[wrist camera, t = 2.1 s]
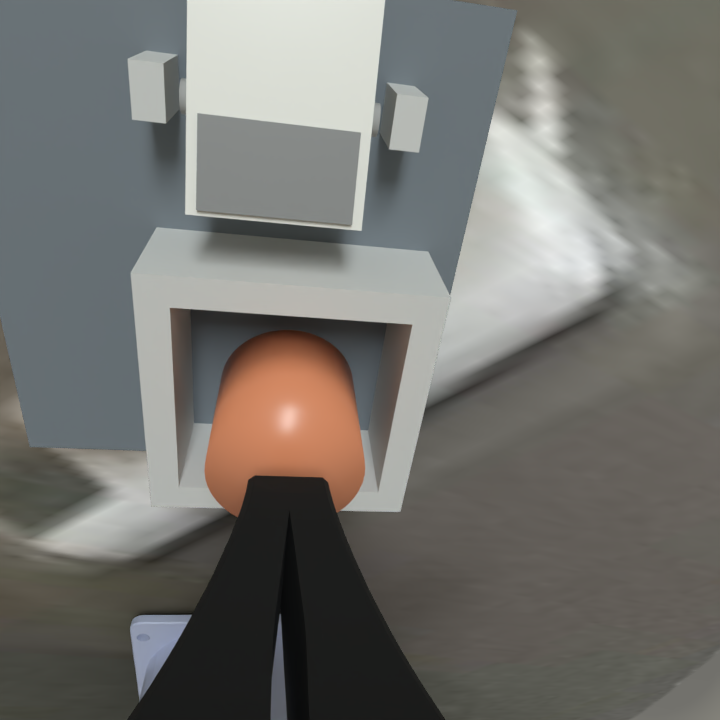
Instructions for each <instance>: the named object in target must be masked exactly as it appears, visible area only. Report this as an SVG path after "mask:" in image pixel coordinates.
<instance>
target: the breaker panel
mask: <svg viewBox="0 0 720 720" xmlns="http://www.w3.org/2000/svg"><path fill="white" fill-rule="evenodd" d="M516 13H517V10H511V9H505V8H498V7H492V6H486V5H479V4H473V3H466V2H460V1H454V0H385V7H384V17H383V27H382V36H381V46H380V56H379V66H378V75H377V85H376V95H375V103H380V105H381V114H380V124H379V130H378V134H377V136H376V137H371V143H370V153H369V163H368V173H367V182H366V192H365V202H364V212H363V221H362V231H357V230H346V229H336V228H325V227H314V226H303V225H293V224H282V223H271V222H261V221H250V220H239V219H228V218H218V217H207V216H196V215H186V214H185V180H186V115H184V114H181V111H180V105H179V86H180V80H181V78H185V79H186V65H187V0H0V318H1V322H2V327H3V331H4V335H5V340H6V344H7V349H8V353H9V357H10V362H11V366H12V371H13V375H14V379H15V384H16V388H17V392H18V397H19V401H20V406H21V410H22V414H23V419H24V423H25V428H26V432H27V436H28V441H29V445H30V447H49V448H78V449H108V450H137V451H146V454H147V466H148V477H149V489H150V500H151V507H185V508H223V507H222V506H221V505H220V504H219V503H218V502H217V501H216V500H215V498H214V497H213V495H212V494H211V492H210V490H209V488H208V486H207V483H206V480H205V472H204V469H205V460H206V455H207V450H208V444H209V439H210V434H211V428H212V423H213V418H214V413H215V407H216V402H217V397H218V392H219V386H220V381H221V376H222V372H223V368H224V366H225V364H226V362H227V360H228V358H229V357H230V355H231V354H232V353H233V352H234V351H235V350H236V349H237V348H238V347H239V346H240V345H241V344H243V343H244V342H246V341H247V340H249V339H251V338H253V337H255V336H257V335H260V334H263V333H266V332H271V331H277V330H297V331H303V332H307V333H311V334H314V335H316V336H319V337H321V338H323V339H325V340H326V341H328V342H329V343H331V344H332V345H334V346H335V347H336V348H337V349H338V350H339V351H340V352H341V353H342V355H343V356H344V357H345V359H346V360H347V362H348V364H349V366H350V369H351V372H352V377H353V383H354V390H355V397H356V404H357V411H358V418H359V425H360V432H361V439H362V446H363V452H364V459H365V476H364V480H363V483H362V485H361V487H360V490H359V491H358V493H357V494H356V496H355V497H354V498H353V500H352V501H351V502H350V503H349V504H348V505H347V506H346V507H344V508H343V509H342V510H340V511H380V512H400V510H401V506H402V502H403V498H404V493H405V489H406V485H407V481H408V477H409V472H410V468H411V464H412V460H413V456H414V451H415V447H416V443H417V439H418V435H419V430H420V426H421V422H422V418H423V414H424V409H425V405H426V401H427V397H428V393H429V388H430V384H431V380H432V376H433V372H434V367H435V363H436V359H437V355H438V351H439V346H440V342H441V338H442V334H443V330H444V325H445V321H446V317H447V313H448V309H449V304H450V300H451V297H450V293H451V289H452V284H453V280H454V276H455V272H456V267H457V263H458V259H459V255H460V251H461V246H462V242H463V238H464V234H465V229H466V225H467V221H468V217H469V212H470V208H471V204H472V200H473V196H474V191H475V187H476V183H477V179H478V174H479V170H480V166H481V162H482V157H483V153H484V149H485V145H486V140H487V136H488V132H489V128H490V124H491V119H492V115H493V111H494V107H495V102H496V98H497V94H498V90H499V85H500V81H501V77H502V73H503V68H504V64H505V60H506V56H507V52H508V47H509V43H510V39H511V35H512V30H513V26H514V22H515V18H516Z"/></svg>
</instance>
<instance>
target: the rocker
mask: <svg viewBox="0 0 720 720" xmlns="http://www.w3.org/2000/svg"><path fill="white" fill-rule="evenodd" d="M384 7H385V0H187V65H186V79H185V78H181V80H180V86H179V105H180V111H181V114H184V115H186V180H185V214H186V215H196V216H207V217H218V218H228V219H239V220H250V221H261V222H271V223H282V224H293V225H303V226H314V227H325V228H336V229H346V230H357V231H362V221H363V212H364V202H365V192H366V182H367V173H368V163H369V153H370V143H371V137H376V136H377V134H378V130H379V124H380V114H381V105H380V103H375V95H376V85H377V75H378V66H379V56H380V46H381V36H382V27H383V17H384Z"/></svg>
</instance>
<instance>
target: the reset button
mask: <svg viewBox="0 0 720 720" xmlns="http://www.w3.org/2000/svg"><path fill="white" fill-rule="evenodd" d="M204 472H205V480H206V483H207V486H208V488H209V490H210V492H211V494H212V495H213V497H214V498H215V500H216V501H217V502H218V503H219V504H220V505H221V506H222V507H223V508H225V509H226V510H227V511H228V512H230V513H231V514H233V515H235V516H236V517H238V515H239V513H240V510H241V507H242V504H243V500H244V497H245V493H246V489H247V484H248V480H249V479H250V478H252V477H253V476H255V475H258V476H292V477H323V478H324V479H325V480H326V481H327V482H328V484H329V488H330V492H331V496H332V499H333V503H334V506H335V509H336V512H337V513H338V512H339V511H340V510H342V509H343V508H344V507H346V506H347V505H348V504H349V503H350V502H351V501H352V500H353V498H354V497H355V496H356V494H357V493H358V491H359V490H360V487H361V485H362V483H363V480H364V476H365V459H364V452H363V446H362V439H361V432H360V425H359V418H358V411H357V404H356V397H355V390H354V383H353V377H352V372H351V369H350V366H349V364H348V362H347V360H346V359H345V357H344V356H343V355H342V353H341V352H340V351H339V350H338V349H337V348H336V347H335V346H334V345H332V344H331V343H329V342H328V341H326V340H325V339H323V338H321V337H319V336H316V335H314V334H311V333H307V332H303V331H297V330H277V331H271V332H266V333H263V334H260V335H257V336H255V337H253V338H251V339H249V340H247V341H246V342H244V343H243V344H241V345H240V346H239V347H238V348H237V349H236V350H235V351H234V352H233V353H232V354H231V355H230V357H229V358H228V360H227V362H226V364H225V366H224V368H223V372H222V376H221V381H220V386H219V392H218V397H217V402H216V407H215V413H214V418H213V423H212V428H211V434H210V439H209V444H208V450H207V455H206V460H205V469H204Z"/></svg>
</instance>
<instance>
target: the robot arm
mask: <svg viewBox="0 0 720 720" xmlns="http://www.w3.org/2000/svg"><path fill="white" fill-rule="evenodd" d="M280 609H281V614H280ZM130 634H131V641H132V648H133V656H134V663H135V670H136V678H137V685H138V692H139V699H140V700H139V703H138V705H137V706H136V708H135V709H134V710H133V712H132V713H131V715H130V716H129V718H128V719H127V720H445V718H444V717H443V715H442V714H441V712H440V711H439V709H438V708H437V706H436V705H435V703H434V702H433V700H432V699H431V697H430V696H429V694H428V693H427V691H426V690H425V688H424V687H423V685H422V683H421V682H420V680H419V679H418V677H417V675H416V674H415V672H414V670H413V669H412V667H411V666H410V664H409V662H408V661H407V659H406V657H405V656H404V654H403V652H402V650H401V649H400V647H399V645H398V644H397V642H396V640H395V638H394V636H393V635H392V633H391V631H390V629H389V627H388V625H387V624H386V622H385V620H384V618H383V616H382V614H381V612H380V610H379V608H378V607H377V605H376V603H375V601H374V599H373V597H372V595H371V593H370V591H369V589H368V587H367V584H366V582H365V580H364V578H363V576H362V573H361V571H360V569H359V567H358V565H357V562H356V560H355V558H354V556H353V554H352V551H351V549H350V546H349V544H348V542H347V539H346V537H345V534H344V531H343V529H342V526H341V523H340V521H339V518H338V515H337V512H336V509H335V506H334V503H333V499H332V496H331V492H330V488H329V484H328V482H327V481H326V480H325V479H324V478H323V477H292V476H258V475H255V476H253V477H252V478H250V479H249V480H248V484H247V489H246V493H245V497H244V500H243V504H242V507H241V510H240V513H239V515H238V518H237V521H236V523H235V526H234V528H233V531H232V534H231V536H230V539H229V541H228V543H227V545H226V547H225V550H224V552H223V554H222V556H221V558H220V561H219V563H218V565H217V567H216V569H215V572H214V574H213V576H212V578H211V580H210V582H209V584H208V586H207V588H206V590H205V591H204V593H203V595H202V597H201V599H200V601H199V603H198V605H197V606H196V608H195V610H194V612H193V614H192V615H139V616H137V617H135V618H134V619H133V620H132V623H131V627H130Z"/></svg>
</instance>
